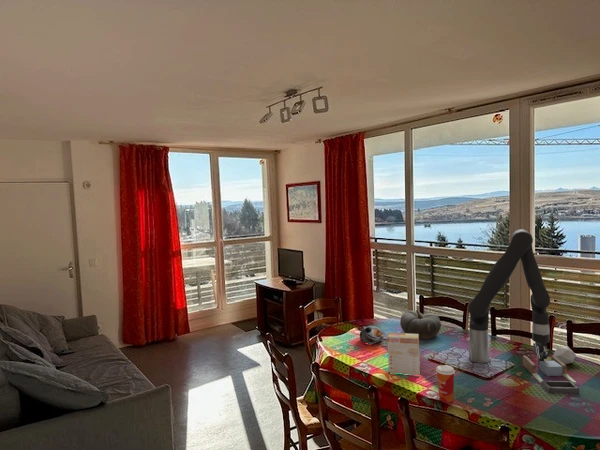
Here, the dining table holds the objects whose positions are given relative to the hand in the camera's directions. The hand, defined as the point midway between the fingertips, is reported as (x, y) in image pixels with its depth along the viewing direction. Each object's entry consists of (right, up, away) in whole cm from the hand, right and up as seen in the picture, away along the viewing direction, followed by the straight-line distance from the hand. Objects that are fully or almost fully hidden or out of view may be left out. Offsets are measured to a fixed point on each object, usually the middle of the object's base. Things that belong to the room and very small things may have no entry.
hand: (541, 365), depth 202 cm
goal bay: (-2, -2, -13) cm, 14 cm away
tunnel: (-1, -1, -3) cm, 3 cm away
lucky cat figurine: (-76, -2, +47) cm, 90 cm away
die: (+15, 0, +5) cm, 16 cm away
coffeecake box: (-69, -4, +2) cm, 69 cm away
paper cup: (-58, -5, -27) cm, 64 cm away
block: (+1, -1, -6) cm, 6 cm away
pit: (-6, -3, -23) cm, 24 cm away
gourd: (-44, 0, +55) cm, 71 cm away
